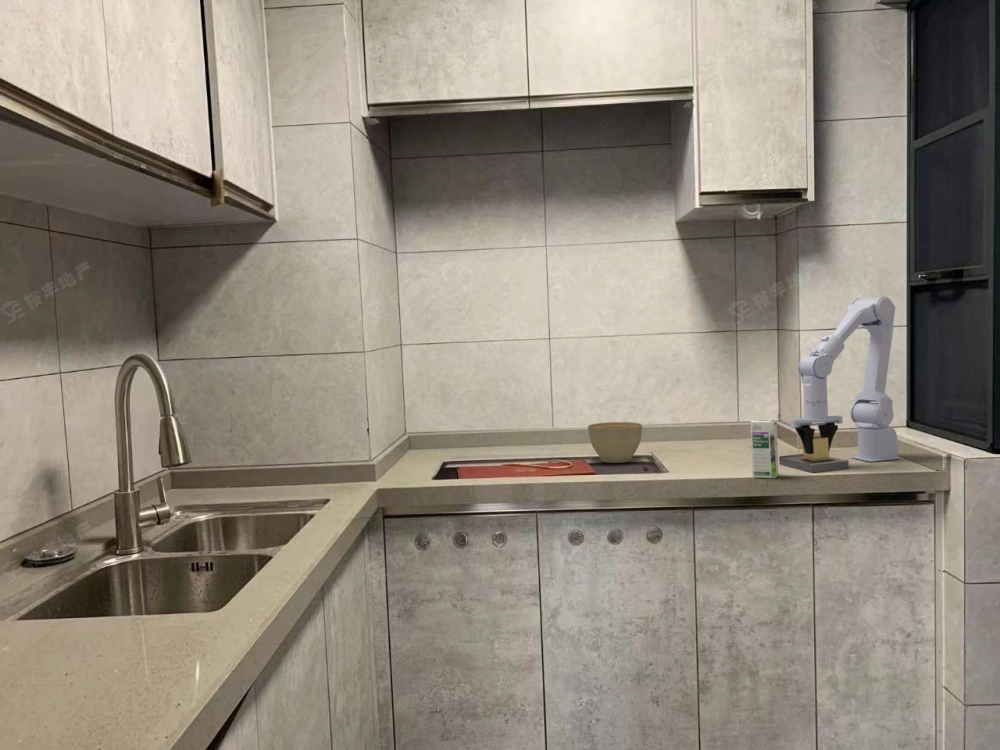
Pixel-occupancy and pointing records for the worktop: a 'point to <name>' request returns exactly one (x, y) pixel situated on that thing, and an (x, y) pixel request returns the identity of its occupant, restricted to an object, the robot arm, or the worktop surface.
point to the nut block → (818, 450)
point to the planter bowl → (615, 440)
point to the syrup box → (764, 448)
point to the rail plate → (813, 463)
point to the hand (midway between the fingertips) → (817, 452)
